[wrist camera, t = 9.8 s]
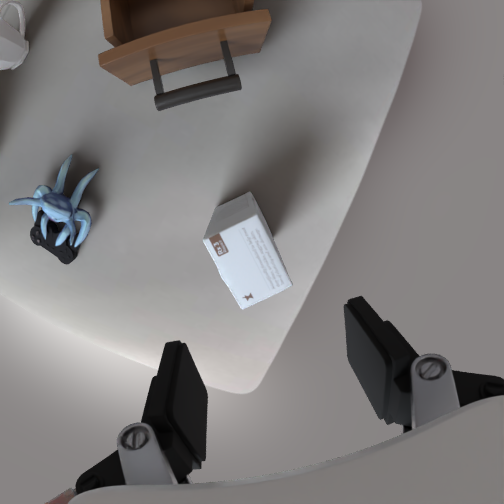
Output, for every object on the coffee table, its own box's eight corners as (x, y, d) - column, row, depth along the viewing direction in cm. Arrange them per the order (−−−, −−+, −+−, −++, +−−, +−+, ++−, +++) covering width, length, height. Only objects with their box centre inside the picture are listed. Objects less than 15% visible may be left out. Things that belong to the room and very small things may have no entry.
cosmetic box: (274, 239, 32) (300, 287, 21) (237, 257, 33) (243, 314, 21) (249, 187, 30) (263, 209, 19) (210, 207, 31) (200, 241, 19)
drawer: (271, 93, 27) (287, 73, 19) (139, 127, 27) (109, 120, 19) (230, -45, 20) (232, -87, 12) (115, -15, 20) (90, -49, 12)
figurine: (112, 167, 29) (95, 188, 23) (86, 257, 34) (70, 294, 27) (42, 143, 26) (9, 158, 19) (24, 234, 30) (-2, 266, 23)
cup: (-6, 82, 22) (-45, 76, 15) (14, 16, 19) (-19, 1, 12) (29, 76, 23) (-11, 65, 16) (51, 6, 20) (19, -15, 13)
